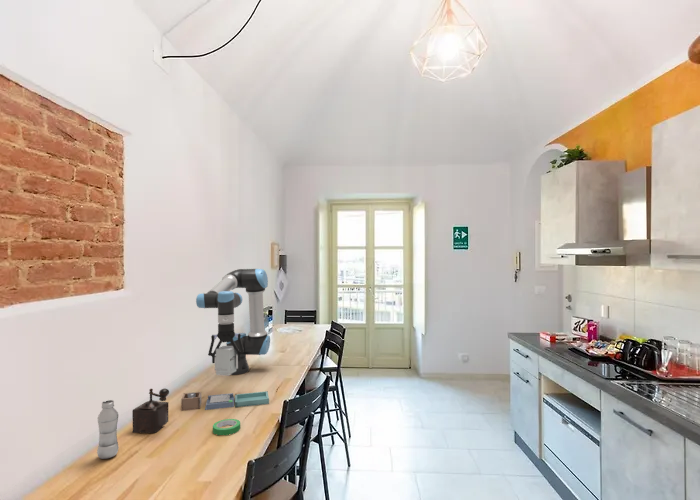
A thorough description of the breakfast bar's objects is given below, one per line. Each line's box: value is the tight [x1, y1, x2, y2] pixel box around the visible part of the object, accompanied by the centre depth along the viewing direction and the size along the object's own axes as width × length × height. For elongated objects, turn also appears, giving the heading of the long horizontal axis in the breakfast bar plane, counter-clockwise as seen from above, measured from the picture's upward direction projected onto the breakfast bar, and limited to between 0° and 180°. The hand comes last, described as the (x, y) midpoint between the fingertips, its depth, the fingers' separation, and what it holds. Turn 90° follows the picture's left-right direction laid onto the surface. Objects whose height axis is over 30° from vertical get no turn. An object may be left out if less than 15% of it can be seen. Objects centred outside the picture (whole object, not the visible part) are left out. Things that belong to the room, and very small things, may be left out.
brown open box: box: [180, 391, 202, 411], centre depth 189 cm, size 8×8×6 cm
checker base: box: [204, 392, 235, 411], centre depth 192 cm, size 13×13×4 cm
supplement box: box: [215, 345, 236, 376], centre depth 193 cm, size 7×7×13 cm
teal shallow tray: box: [234, 390, 270, 409], centre depth 196 cm, size 11×16×2 cm
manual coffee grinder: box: [131, 388, 170, 434], centre depth 167 cm, size 16×11×18 cm
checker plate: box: [210, 393, 230, 404], centre depth 192 cm, size 9×9×1 cm
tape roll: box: [212, 418, 241, 436], centre depth 165 cm, size 11×11×3 cm
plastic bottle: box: [96, 399, 119, 460], centre depth 144 cm, size 6×7×20 cm
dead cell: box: [187, 392, 196, 398], centre depth 189 cm, size 4×4×6 cm
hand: (226, 368), depth 193 cm, fingers closed on supplement box, 9 cm apart
